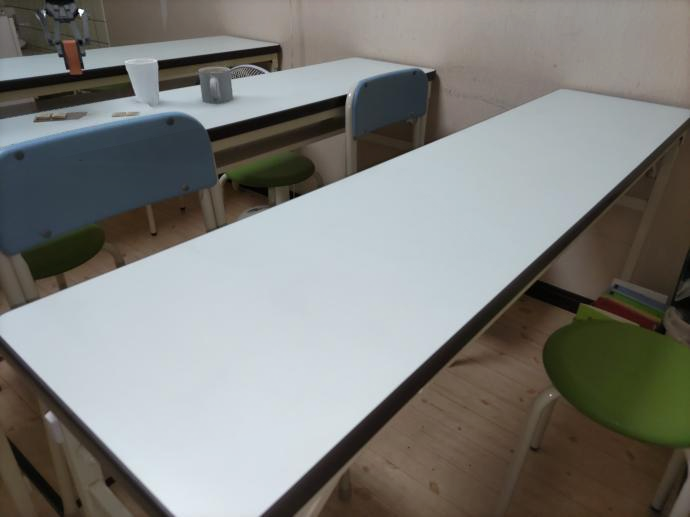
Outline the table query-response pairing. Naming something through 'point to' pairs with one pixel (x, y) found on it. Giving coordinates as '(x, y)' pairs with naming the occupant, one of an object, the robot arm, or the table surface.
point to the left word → (59, 116)
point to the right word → (123, 114)
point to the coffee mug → (216, 84)
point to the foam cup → (144, 80)
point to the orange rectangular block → (72, 57)
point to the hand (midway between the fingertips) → (74, 66)
